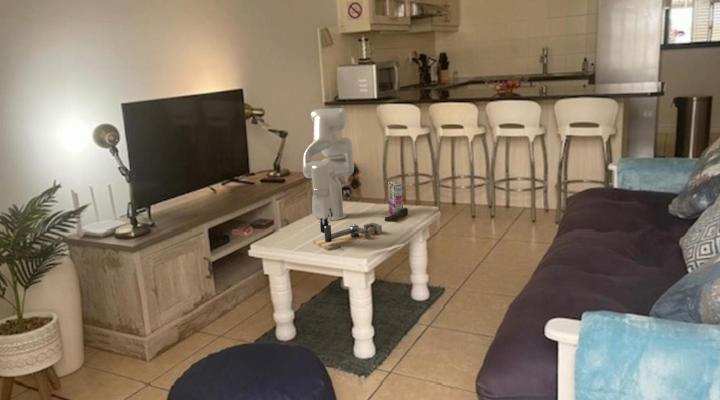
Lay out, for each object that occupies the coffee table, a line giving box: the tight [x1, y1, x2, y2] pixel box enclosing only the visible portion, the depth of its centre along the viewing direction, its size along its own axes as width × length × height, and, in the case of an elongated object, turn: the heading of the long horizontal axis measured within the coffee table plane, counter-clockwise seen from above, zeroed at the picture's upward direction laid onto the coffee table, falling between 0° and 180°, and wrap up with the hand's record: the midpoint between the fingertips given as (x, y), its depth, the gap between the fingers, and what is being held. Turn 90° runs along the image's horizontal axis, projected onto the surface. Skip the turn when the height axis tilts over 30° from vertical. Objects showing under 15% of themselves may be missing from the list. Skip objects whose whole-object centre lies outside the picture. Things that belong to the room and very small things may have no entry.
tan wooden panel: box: [313, 222, 384, 251], centre depth 270 cm, size 13×30×5 cm, turn 122°
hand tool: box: [384, 207, 409, 223], centre depth 300 cm, size 19×4×5 cm, turn 141°
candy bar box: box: [387, 181, 404, 215], centre depth 309 cm, size 11×5×16 cm, turn 14°
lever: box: [323, 223, 372, 242], centre depth 264 cm, size 10×20×8 cm, turn 134°
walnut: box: [368, 227, 375, 235], centre depth 272 cm, size 4×4×4 cm
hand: (324, 232), depth 263 cm, fingers closed
